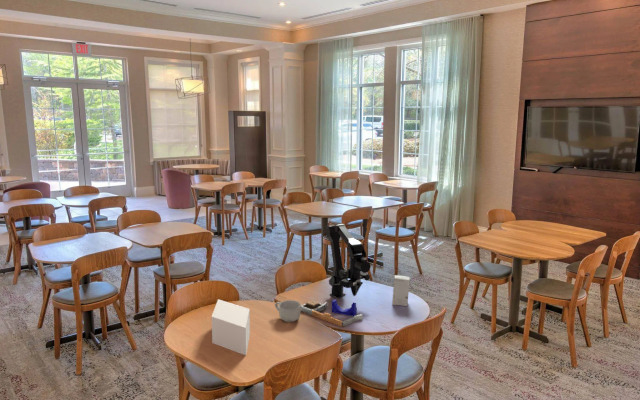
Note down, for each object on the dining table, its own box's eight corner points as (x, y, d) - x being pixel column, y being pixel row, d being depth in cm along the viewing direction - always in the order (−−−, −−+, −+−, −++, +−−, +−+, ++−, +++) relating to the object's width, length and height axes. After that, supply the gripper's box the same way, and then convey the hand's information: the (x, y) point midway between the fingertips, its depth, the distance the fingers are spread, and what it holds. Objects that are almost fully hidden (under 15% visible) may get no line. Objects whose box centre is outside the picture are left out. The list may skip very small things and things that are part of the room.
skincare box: (392, 305, 254) (393, 278, 251) (392, 300, 259) (394, 274, 257) (408, 306, 252) (409, 279, 249) (408, 302, 258) (409, 275, 255)
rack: (317, 303, 254) (317, 296, 254) (362, 319, 235) (363, 311, 234) (299, 310, 244) (299, 303, 244) (345, 328, 225) (345, 320, 224)
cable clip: (356, 313, 243) (357, 301, 242) (354, 316, 239) (354, 305, 238) (334, 309, 247) (334, 298, 246) (331, 312, 243) (331, 301, 242)
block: (236, 320, 232) (235, 296, 230) (265, 351, 203) (265, 323, 200) (200, 327, 224) (199, 302, 222) (225, 361, 194) (225, 332, 192)
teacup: (305, 319, 234) (305, 304, 232) (289, 326, 226) (289, 310, 225) (285, 311, 243) (285, 296, 242) (269, 317, 235) (269, 302, 234)
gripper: (353, 259, 258) (352, 287, 261) (331, 267, 244) (330, 296, 247) (370, 264, 251) (369, 292, 254) (348, 272, 237) (347, 302, 240)
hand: (354, 295), depth 249 cm, fingers closed
